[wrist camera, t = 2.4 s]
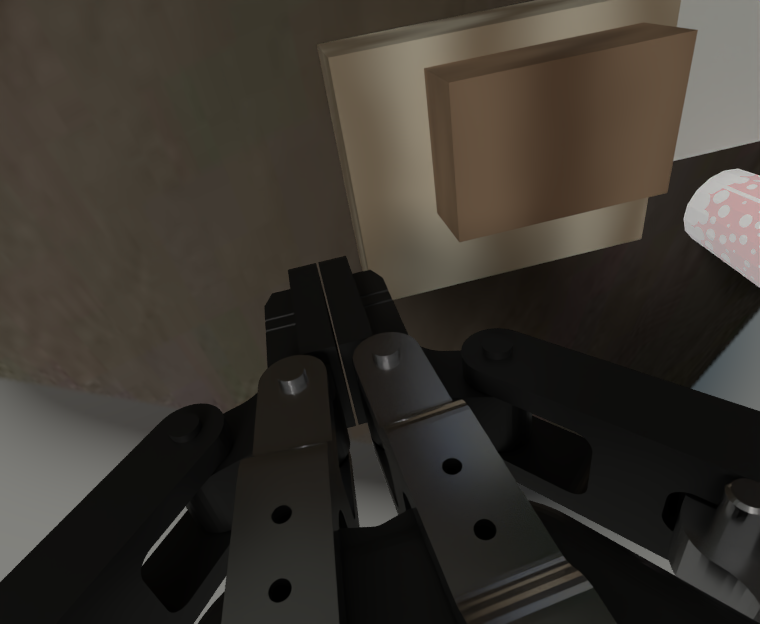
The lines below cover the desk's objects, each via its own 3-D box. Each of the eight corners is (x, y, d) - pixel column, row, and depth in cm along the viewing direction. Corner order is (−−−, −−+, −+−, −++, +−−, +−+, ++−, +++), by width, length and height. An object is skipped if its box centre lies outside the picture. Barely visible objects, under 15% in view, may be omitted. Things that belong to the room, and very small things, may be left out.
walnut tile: (643, 22, 20) (697, 30, 18) (624, 169, 24) (667, 192, 21) (423, 68, 19) (448, 82, 17) (437, 213, 23) (459, 242, 20)
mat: (898, -73, 24) (904, -73, 24) (829, 122, 29) (834, 123, 29) (622, -18, 23) (626, -17, 23) (601, 175, 28) (604, 177, 28)
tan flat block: (622, -18, 23) (683, -15, 20) (597, 208, 29) (641, 238, 26) (316, 44, 22) (327, 57, 18) (360, 265, 28) (375, 304, 25)
